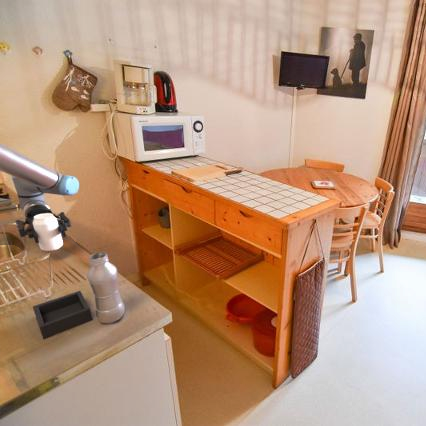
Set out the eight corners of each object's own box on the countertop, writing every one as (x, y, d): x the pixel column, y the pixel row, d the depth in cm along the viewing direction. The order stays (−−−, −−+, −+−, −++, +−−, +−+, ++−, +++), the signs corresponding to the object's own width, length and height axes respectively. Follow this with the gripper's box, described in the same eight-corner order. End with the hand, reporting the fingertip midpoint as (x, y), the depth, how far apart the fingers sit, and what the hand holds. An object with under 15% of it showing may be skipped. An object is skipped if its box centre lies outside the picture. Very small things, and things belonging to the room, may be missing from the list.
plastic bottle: (93, 319, 86) (76, 256, 79) (119, 306, 92) (106, 246, 84) (104, 330, 83) (89, 265, 76) (130, 316, 89) (118, 254, 81)
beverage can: (36, 249, 107) (26, 216, 103) (57, 242, 113) (48, 210, 108) (47, 254, 105) (37, 221, 100) (67, 246, 110) (59, 215, 106)
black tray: (43, 339, 79) (39, 327, 78) (36, 317, 86) (32, 306, 84) (92, 320, 86) (90, 308, 85) (83, 301, 93) (80, 290, 91)
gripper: (72, 216, 125) (87, 238, 111) (6, 229, 112) (14, 255, 98) (68, 199, 123) (83, 218, 108) (-1, 210, 109) (6, 233, 95)
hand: (50, 236), depth 103 cm, fingers closed on beverage can, 6 cm apart
